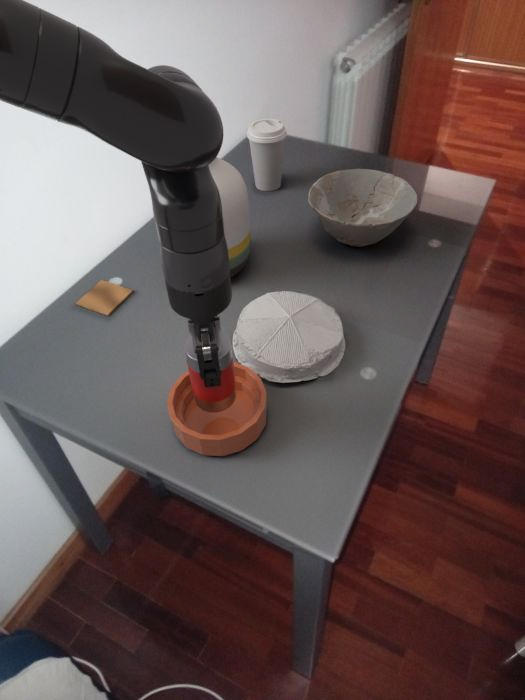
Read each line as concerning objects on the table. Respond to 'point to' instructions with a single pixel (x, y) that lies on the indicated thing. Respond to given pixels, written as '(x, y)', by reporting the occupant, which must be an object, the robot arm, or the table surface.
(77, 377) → the table surface
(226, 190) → the vase
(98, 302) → the coaster
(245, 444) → the dish
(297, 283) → the table surface
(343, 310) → the table surface
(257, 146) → the coffee cup
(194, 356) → the can
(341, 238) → the ceramic bowl
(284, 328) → the white round slab
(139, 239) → the table surface
